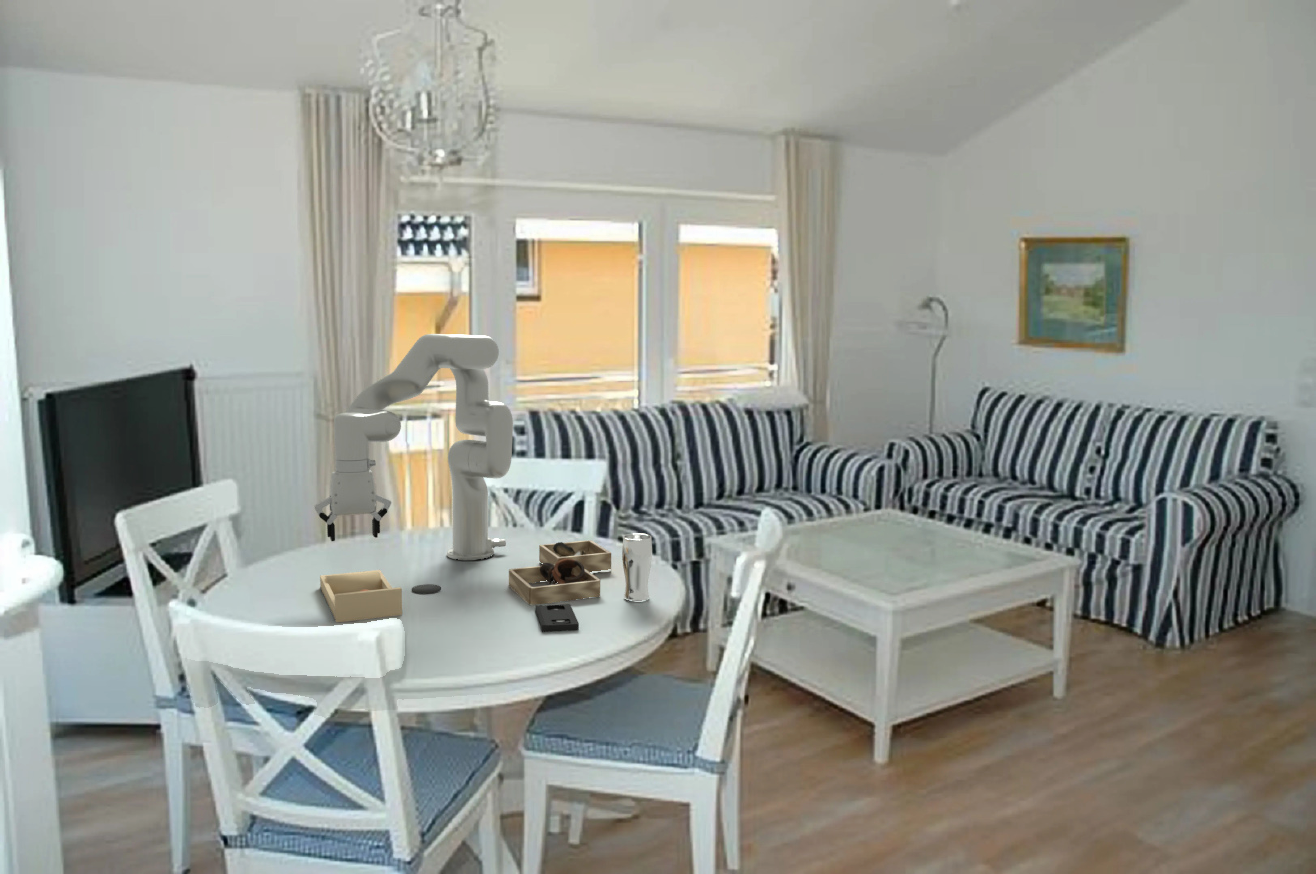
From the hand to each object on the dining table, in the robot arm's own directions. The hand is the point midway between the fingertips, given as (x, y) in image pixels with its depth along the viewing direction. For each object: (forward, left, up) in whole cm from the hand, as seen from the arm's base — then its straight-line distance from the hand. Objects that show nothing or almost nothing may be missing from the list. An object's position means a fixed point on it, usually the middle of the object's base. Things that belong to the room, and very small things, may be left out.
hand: (354, 538), depth 234 cm
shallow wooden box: (-44, +15, -13) cm, 48 cm away
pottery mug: (-47, +14, -14) cm, 51 cm away
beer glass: (-60, +28, -14) cm, 68 cm away
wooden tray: (-56, -3, -13) cm, 58 cm away
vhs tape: (-37, +37, -14) cm, 54 cm away
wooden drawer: (0, +6, -17) cm, 18 cm away
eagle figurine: (-54, -3, -14) cm, 56 cm away
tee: (-16, +3, -13) cm, 21 cm away
